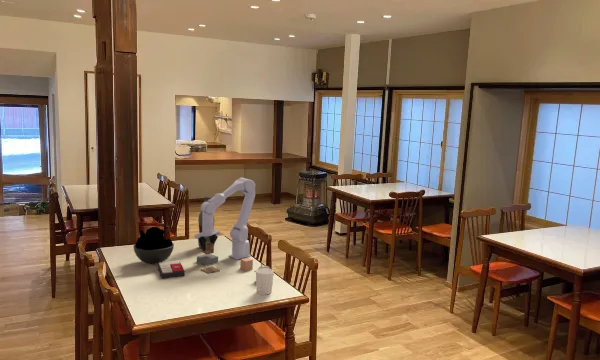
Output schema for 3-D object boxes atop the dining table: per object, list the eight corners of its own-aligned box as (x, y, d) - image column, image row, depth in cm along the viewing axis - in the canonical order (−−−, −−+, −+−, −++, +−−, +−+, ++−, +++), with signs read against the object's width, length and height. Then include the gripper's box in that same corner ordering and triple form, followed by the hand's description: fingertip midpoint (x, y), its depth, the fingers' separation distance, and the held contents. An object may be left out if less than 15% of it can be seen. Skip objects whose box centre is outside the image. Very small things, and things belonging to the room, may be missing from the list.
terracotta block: (247, 266, 248) (247, 257, 247) (252, 269, 244) (252, 259, 244) (240, 268, 244) (240, 259, 244) (245, 271, 241) (245, 261, 241)
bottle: (195, 249, 275) (195, 198, 270) (201, 244, 284) (201, 195, 279) (211, 250, 273) (211, 199, 269) (216, 246, 282) (217, 196, 278)
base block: (208, 259, 258) (209, 253, 258) (218, 263, 253) (218, 256, 252) (196, 262, 252) (196, 256, 252) (205, 266, 247) (205, 259, 246)
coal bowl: (172, 256, 260) (172, 223, 257) (175, 268, 241) (175, 232, 238) (134, 258, 253) (133, 224, 251) (133, 271, 235) (132, 234, 232)
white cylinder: (266, 296, 209) (266, 275, 207) (251, 292, 213) (252, 271, 211) (276, 291, 215) (276, 270, 214) (262, 287, 220) (262, 266, 218)
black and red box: (161, 272, 225) (157, 261, 238) (161, 281, 226) (157, 269, 239) (185, 270, 229) (179, 259, 243) (185, 278, 230) (179, 267, 243)
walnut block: (209, 250, 254) (209, 241, 254) (213, 252, 251) (213, 243, 251) (201, 252, 251) (202, 243, 251) (206, 254, 248) (206, 245, 247)
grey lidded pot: (267, 287, 230) (280, 272, 229) (259, 286, 222) (272, 270, 221) (255, 275, 234) (268, 259, 233) (247, 274, 226) (260, 258, 225)
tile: (212, 267, 245) (212, 266, 245) (220, 270, 240) (220, 269, 240) (200, 270, 240) (200, 269, 240) (208, 273, 235) (208, 272, 235)
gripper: (215, 221, 257) (214, 245, 259) (191, 225, 247) (191, 250, 249) (222, 223, 252) (222, 248, 254) (199, 227, 242) (198, 253, 244)
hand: (207, 249), depth 251 cm, fingers closed on walnut block, 4 cm apart
